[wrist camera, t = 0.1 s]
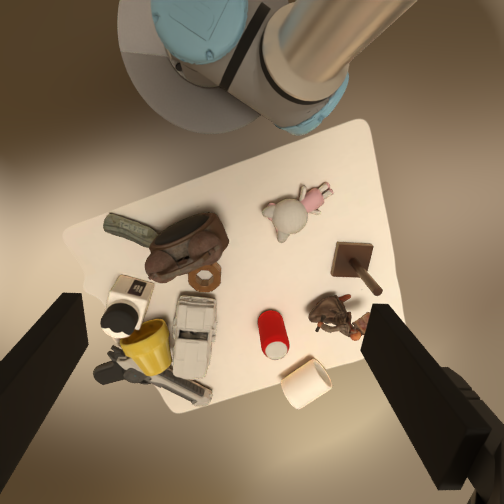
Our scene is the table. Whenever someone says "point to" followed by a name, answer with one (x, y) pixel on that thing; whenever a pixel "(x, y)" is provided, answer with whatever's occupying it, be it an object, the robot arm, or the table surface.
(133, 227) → the stone
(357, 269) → the peg stand
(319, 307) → the figurine
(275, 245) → the table surface
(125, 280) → the container
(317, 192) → the toy
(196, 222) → the alarm clock
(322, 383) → the mug
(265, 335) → the beverage can
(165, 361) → the flower pot
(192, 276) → the ring
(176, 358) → the toy car
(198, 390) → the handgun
